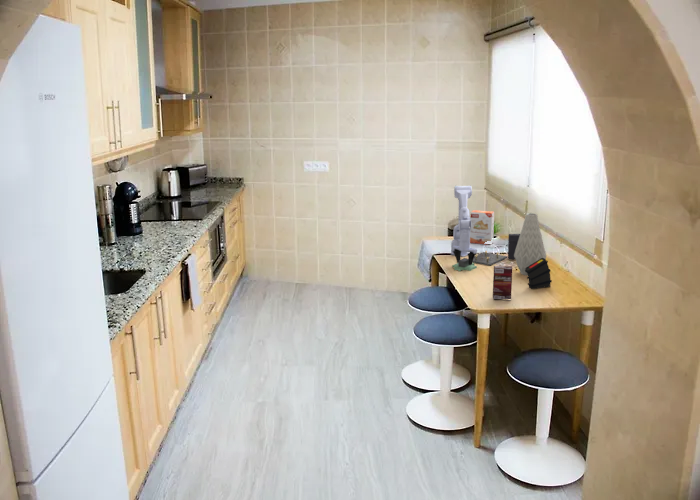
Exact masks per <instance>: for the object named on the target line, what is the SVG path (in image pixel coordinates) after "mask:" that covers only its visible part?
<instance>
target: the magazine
mask: <svg viewBox="0 0 700 500" xmlns="http://www.w3.org/2000/svg"><path fill="white" fill-rule="evenodd" d="M548 262H549V261H548V260H547V258H546V259H545V258H541V259H539V260H538V261H536V262H534V263H533V264H531V265H530V266H528V267H526V268H525V272H527V274H528V276H527V277H526V279H528V283H527V285H528V289H531V290H536V289H544V288H551V284H552V280H551V269H550V267H549V264H548Z"/></svg>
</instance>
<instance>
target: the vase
mask: <svg viewBox="0 0 700 500" xmlns="http://www.w3.org/2000/svg"><path fill="white" fill-rule="evenodd" d="M519 234H520V237H519V240H518V243H517V247H516V249H515V253H514V257H515V259H516V260H515V263H516V265H517V269H518V270H519V273H520V274H521V275H523V276H527V277H528V274H527V272H525V268H526V267H528V266H530V265H531V264H533V263H534V262H536V261H538V260H539V259H541V258H545V259H546V260H547V253H546V250H545V244H544V240H543V237H542V236H543V235H542V232H541V228H540V221H539V219H538V214H537V213H536V212H535V213H532V212H530V213H526V214H525V218H524V219H523V224H522V228H521V231H520V233H519Z"/></svg>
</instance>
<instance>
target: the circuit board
mask: <svg viewBox="0 0 700 500" xmlns="http://www.w3.org/2000/svg"><path fill="white" fill-rule="evenodd" d="M451 267H452V268H453V267H454V271H455V270H458V271H457V272H462V271H467V272H468V271H469V272H471V271H473V270H475V269H478V268H477V267H478V265H475V263H472V265H469V258H468V257H464V258H460V260H459V263H457V262H456V263H454V264H452V266H451ZM461 270H462V271H461Z"/></svg>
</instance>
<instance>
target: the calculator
mask: <svg viewBox="0 0 700 500" xmlns="http://www.w3.org/2000/svg"><path fill="white" fill-rule="evenodd" d="M519 237H520V233H508V239H507V240H508V242H507V243H508V244H507V245H508V246H507V248H508V249H507V256H508V258H507V259H508V260H509V261H516V259H515V257H514V253H515V249H516V247H517V243H518V240H519Z"/></svg>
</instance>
